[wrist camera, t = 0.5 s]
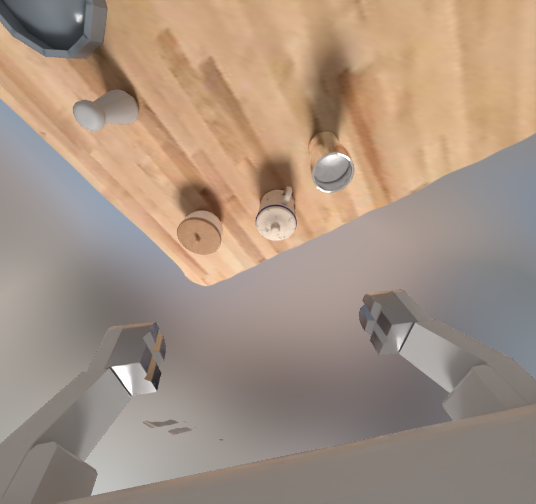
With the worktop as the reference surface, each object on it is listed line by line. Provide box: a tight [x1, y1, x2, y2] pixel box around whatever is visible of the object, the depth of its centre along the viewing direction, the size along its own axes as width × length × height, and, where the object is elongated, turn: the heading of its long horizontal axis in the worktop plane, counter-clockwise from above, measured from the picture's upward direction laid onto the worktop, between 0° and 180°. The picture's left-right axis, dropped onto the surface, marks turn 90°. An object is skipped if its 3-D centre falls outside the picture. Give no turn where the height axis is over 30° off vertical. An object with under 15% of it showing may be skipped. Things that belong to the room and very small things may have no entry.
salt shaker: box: [73, 89, 139, 131], centre depth 42 cm, size 6×6×13 cm
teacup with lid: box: [256, 186, 297, 241], centre depth 53 cm, size 12×9×12 cm
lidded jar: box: [177, 210, 223, 255], centre depth 59 cm, size 11×11×9 cm
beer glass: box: [309, 131, 354, 193], centre depth 43 cm, size 7×7×15 cm
